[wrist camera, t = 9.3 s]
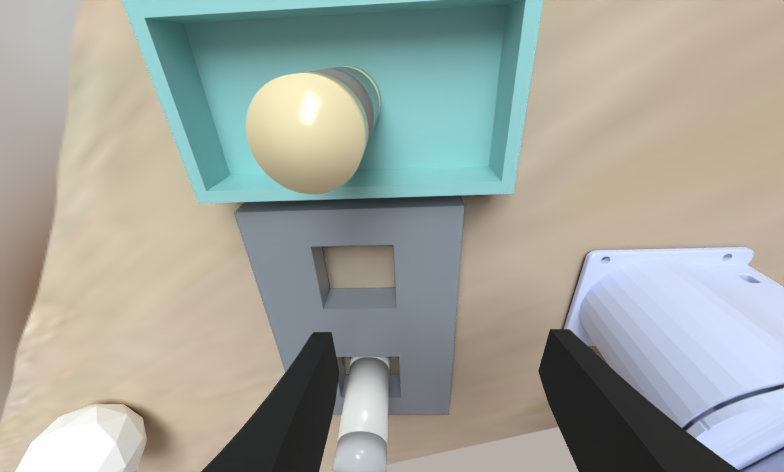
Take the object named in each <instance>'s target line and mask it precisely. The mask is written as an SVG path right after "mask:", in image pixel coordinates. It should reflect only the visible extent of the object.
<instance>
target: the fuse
mask: <svg viewBox="0 0 784 472" xmlns="http://www.w3.org/2000/svg"><path fill="white" fill-rule="evenodd" d="M389 372H390V357H351V362H350V368H349V374H348V380H347V386H346V392H345V398H344V405H343V411H342V417H341V423H340V429H339V435H338V441H337V448H336V454H335V460H334V466H333V472H386V465H387V434H388V403H389Z"/></svg>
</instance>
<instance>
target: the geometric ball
mask: <svg viewBox="0 0 784 472" xmlns="http://www.w3.org/2000/svg"><path fill="white" fill-rule="evenodd" d="M146 442H147V437H146V432H145V427H144V422H143V418H142V417H141V416H139V415H138V414H137V413H135V412H134V411H132V410H131V409H130V408H128V407H127V406H126V405H124V404H92V405H89V406H86V407H84V408H81V409H78V410H75V411H73V412H70V413H67V414H65V415H62V416H60V417H59V418H58V419H57V420H56V421H55V422H53V423H52V424H51V425H50V426H49V427H48V428H47V429H46V430H45V431H44V432H43V433H41V434H40V435H39V436H38V437H37V438H36V439H35V440H34V441H33V442H32V443H31V444H30V446H29V448H28V450H27V452H26V453H25V455H24V457H23V459H22V461H21V462H20V464H19V466H18V468H17V470H16V472H135V471H136V470H137V469H138V467H139V464H140V460H141V457H142V454H143V451H144V448H145V445H146Z"/></svg>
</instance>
